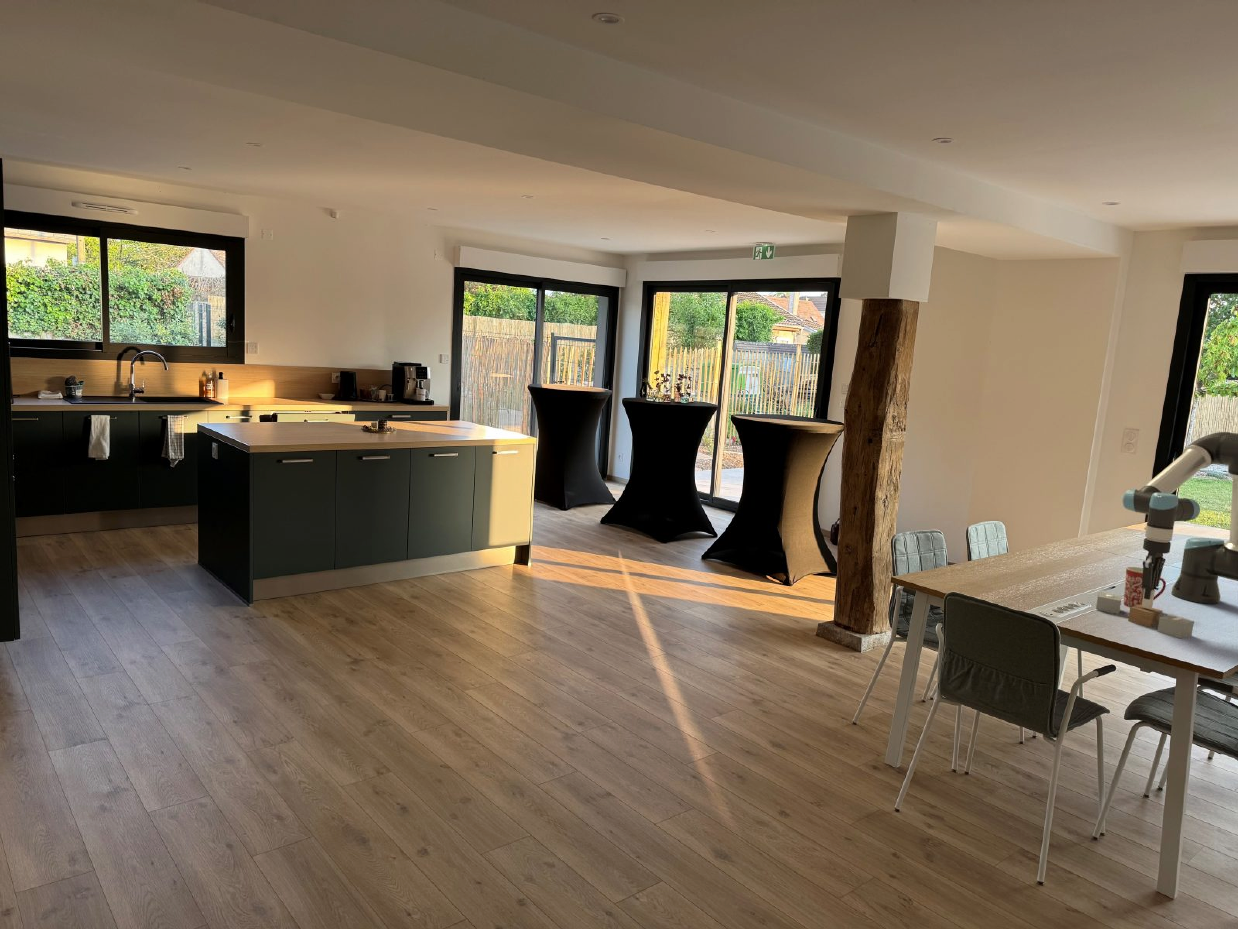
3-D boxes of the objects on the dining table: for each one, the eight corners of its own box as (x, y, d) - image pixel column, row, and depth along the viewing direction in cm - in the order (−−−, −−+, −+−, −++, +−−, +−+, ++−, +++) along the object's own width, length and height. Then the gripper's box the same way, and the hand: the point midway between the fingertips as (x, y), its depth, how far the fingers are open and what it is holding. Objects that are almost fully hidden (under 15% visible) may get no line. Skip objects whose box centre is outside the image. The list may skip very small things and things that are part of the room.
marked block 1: (1097, 605, 296) (1099, 591, 295) (1119, 610, 292) (1121, 595, 291) (1095, 610, 290) (1097, 595, 289) (1118, 614, 286) (1121, 600, 285)
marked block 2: (1168, 629, 273) (1170, 614, 273) (1191, 636, 268) (1194, 620, 267) (1157, 632, 270) (1159, 616, 269) (1180, 639, 264) (1183, 623, 263)
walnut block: (1137, 618, 283) (1140, 604, 282) (1160, 625, 277) (1162, 610, 277) (1128, 621, 279) (1130, 607, 278) (1150, 628, 273) (1152, 613, 273)
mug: (1119, 606, 296) (1125, 569, 294) (1121, 600, 303) (1126, 564, 301) (1161, 614, 289) (1167, 577, 287) (1161, 608, 296) (1167, 572, 294)
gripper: (1152, 535, 281) (1142, 601, 284) (1137, 539, 273) (1126, 607, 276) (1177, 540, 275) (1166, 608, 279) (1162, 544, 267) (1151, 614, 271)
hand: (1146, 607), depth 278 cm, fingers closed
